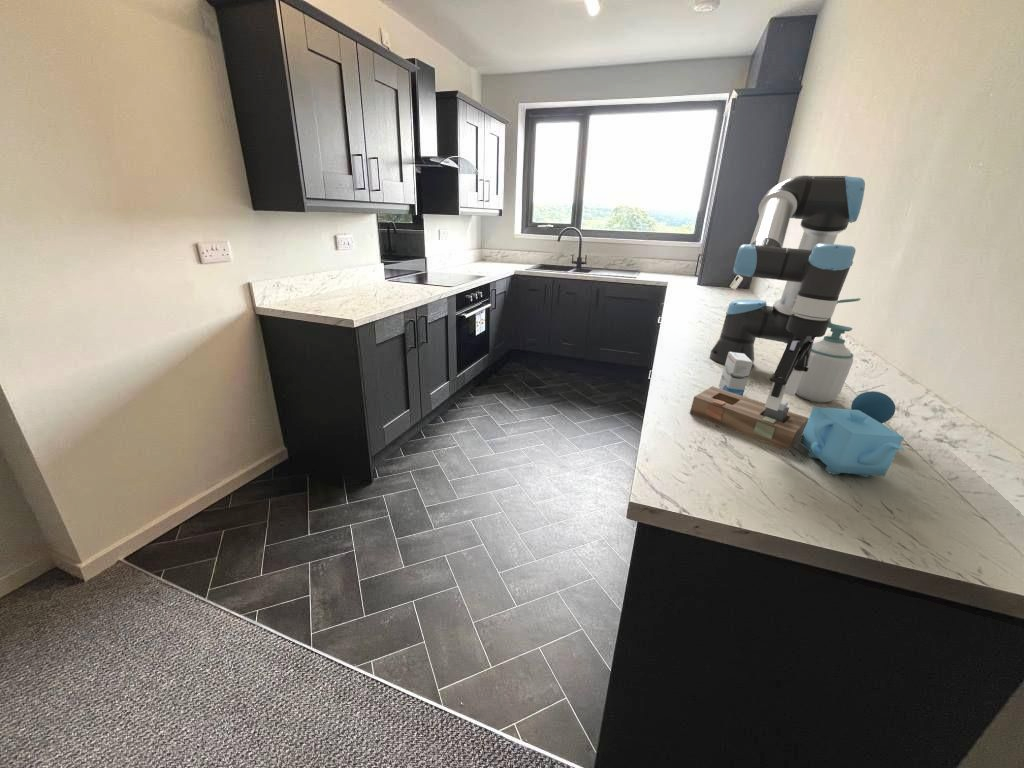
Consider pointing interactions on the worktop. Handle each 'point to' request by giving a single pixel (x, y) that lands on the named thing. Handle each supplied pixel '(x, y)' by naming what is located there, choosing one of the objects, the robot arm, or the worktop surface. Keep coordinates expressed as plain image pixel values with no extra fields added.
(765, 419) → the socket block
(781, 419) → the plug
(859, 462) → the teapot
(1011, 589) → the worktop surface
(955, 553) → the worktop surface
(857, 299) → the soap bottle
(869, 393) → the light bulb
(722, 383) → the ink box
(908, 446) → the worktop surface
